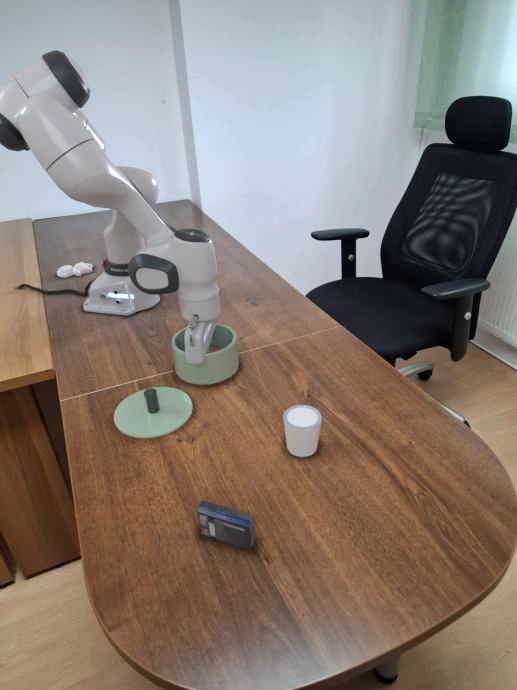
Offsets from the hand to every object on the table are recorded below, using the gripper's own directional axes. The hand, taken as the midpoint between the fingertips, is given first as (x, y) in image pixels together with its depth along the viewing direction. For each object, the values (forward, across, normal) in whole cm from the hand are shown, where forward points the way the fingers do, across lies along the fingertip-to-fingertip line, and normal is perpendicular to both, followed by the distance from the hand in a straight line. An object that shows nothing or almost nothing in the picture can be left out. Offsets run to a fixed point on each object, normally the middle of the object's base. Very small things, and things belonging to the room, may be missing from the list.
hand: (205, 359), depth 107 cm
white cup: (+3, -25, -22) cm, 33 cm away
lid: (+2, -17, +8) cm, 19 cm away
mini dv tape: (+3, -45, -11) cm, 46 cm away
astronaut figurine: (+3, +58, +57) cm, 81 cm away
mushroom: (+2, 0, 0) cm, 2 cm away
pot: (+2, 0, 0) cm, 3 cm away
